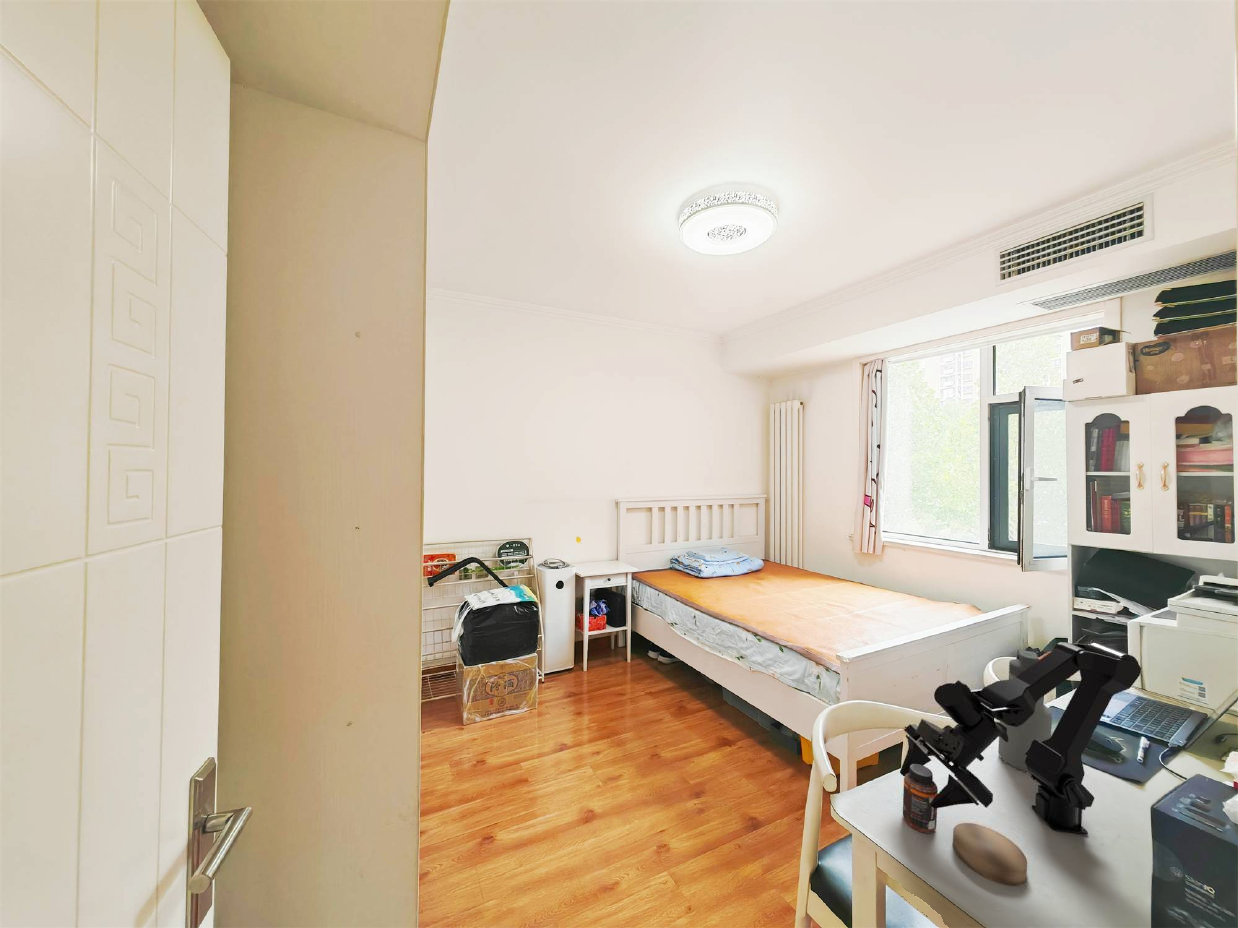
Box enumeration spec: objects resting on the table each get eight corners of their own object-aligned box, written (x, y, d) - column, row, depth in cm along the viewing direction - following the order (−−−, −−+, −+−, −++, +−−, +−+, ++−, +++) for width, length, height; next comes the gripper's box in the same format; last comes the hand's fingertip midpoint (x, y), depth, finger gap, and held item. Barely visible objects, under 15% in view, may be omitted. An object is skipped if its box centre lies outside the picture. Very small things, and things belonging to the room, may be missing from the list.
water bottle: (996, 745, 124) (1001, 641, 123) (1045, 759, 118) (1050, 651, 118) (999, 765, 116) (1004, 654, 115) (1052, 782, 110) (1058, 665, 109)
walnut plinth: (1001, 838, 93) (1001, 826, 93) (1042, 889, 82) (1043, 875, 82) (941, 831, 95) (941, 819, 95) (974, 879, 84) (974, 866, 84)
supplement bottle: (942, 837, 93) (944, 782, 93) (909, 831, 94) (911, 777, 94) (928, 814, 99) (930, 762, 99) (897, 809, 100) (899, 758, 100)
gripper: (914, 687, 106) (864, 735, 105) (981, 738, 87) (921, 795, 87) (945, 722, 106) (896, 769, 106) (1019, 779, 88) (960, 836, 87)
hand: (915, 789), depth 96 cm, fingers open, 9 cm apart
